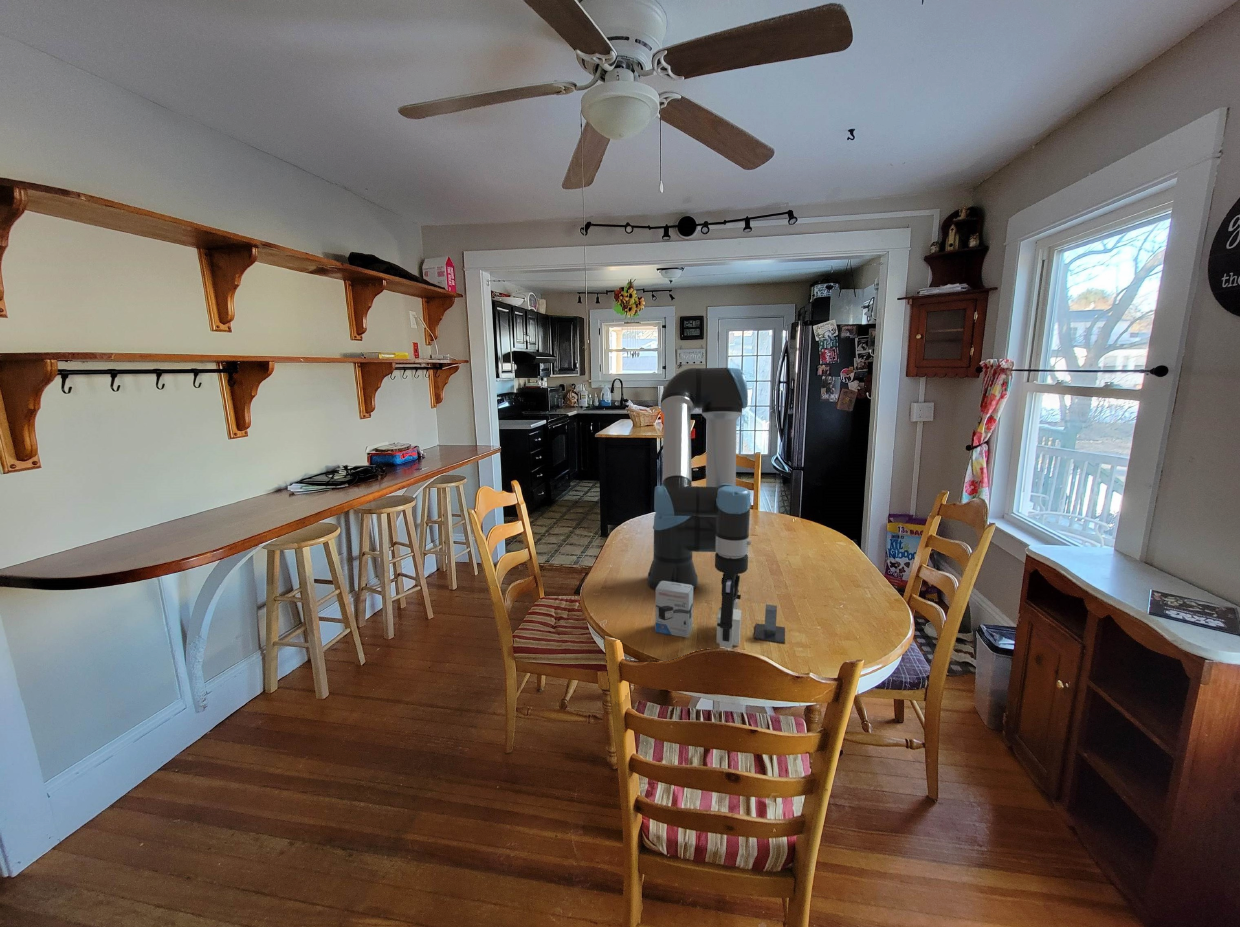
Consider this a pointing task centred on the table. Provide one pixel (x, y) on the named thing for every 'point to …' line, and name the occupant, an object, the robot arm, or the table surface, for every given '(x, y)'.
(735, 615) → the white upright block
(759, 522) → the table surface
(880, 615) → the table surface
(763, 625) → the post
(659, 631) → the ink box
